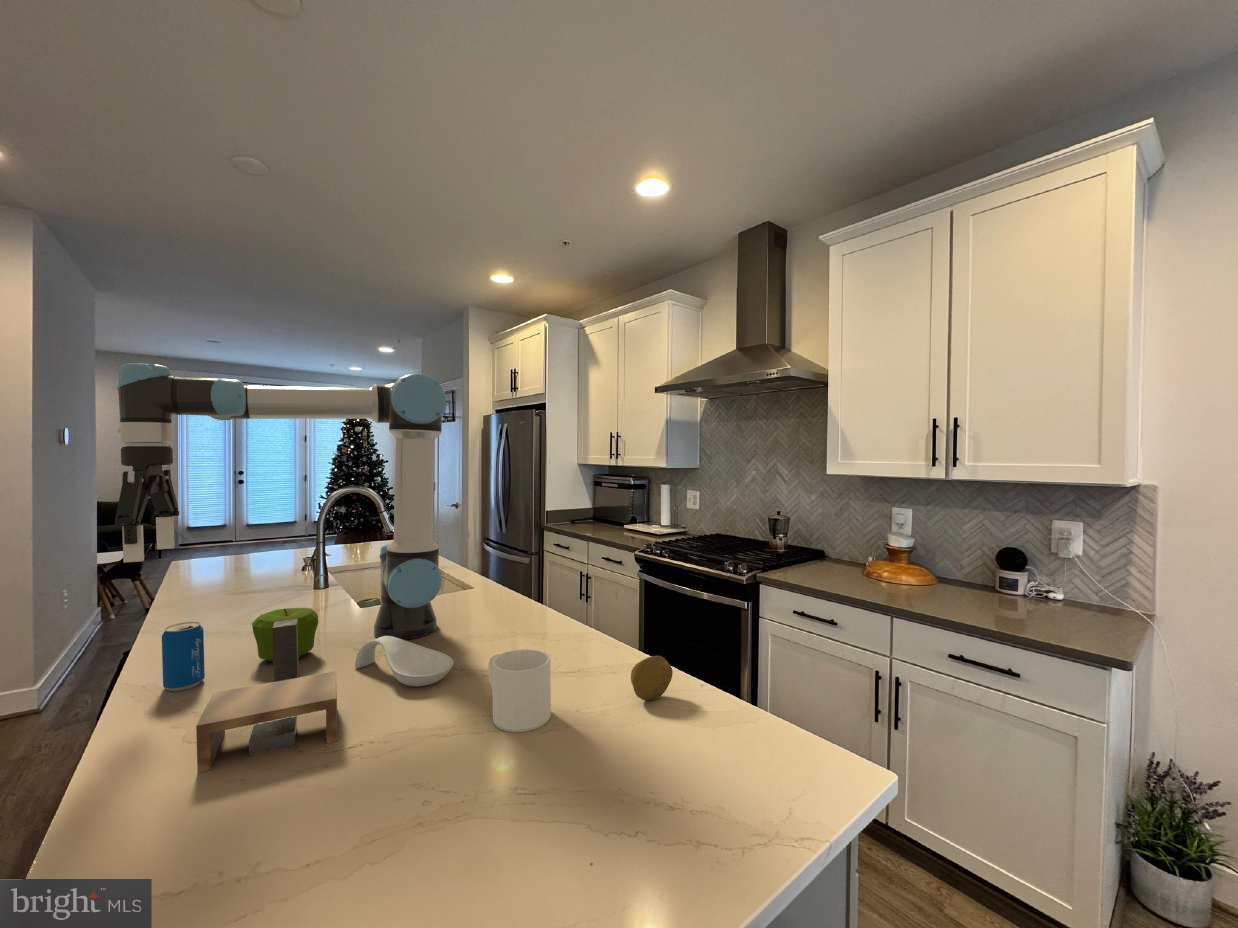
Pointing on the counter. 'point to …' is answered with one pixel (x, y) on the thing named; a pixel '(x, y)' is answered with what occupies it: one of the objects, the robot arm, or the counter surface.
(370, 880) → the counter surface
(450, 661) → the spoon rest
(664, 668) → the potato
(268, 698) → the walnut shelf
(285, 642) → the grey metal prism
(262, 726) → the block
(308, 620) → the apple
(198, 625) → the beverage can
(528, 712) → the mug
